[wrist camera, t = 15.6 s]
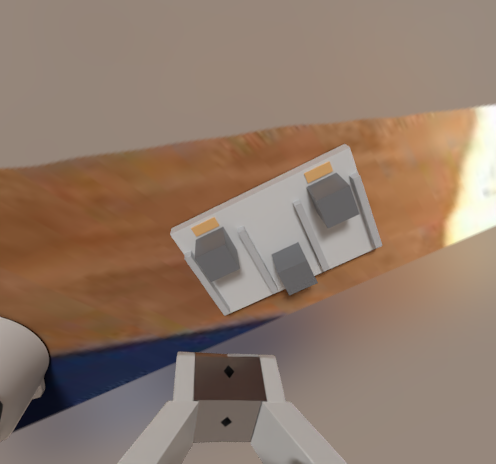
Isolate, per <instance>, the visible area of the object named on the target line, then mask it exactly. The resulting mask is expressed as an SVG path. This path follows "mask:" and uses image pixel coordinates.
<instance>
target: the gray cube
mask: <svg viewBox="0 0 496 464" xmlns="http://www.w3.org/2000/svg"><path fill="white" fill-rule="evenodd" d="M195 260H196V261H197V263H198V264H199V265H200V267H201V268H202V270H203V271H204V273H205V274H206V276H207V277H208V279H209V280H210V282H213V281H215V280H217V279H219V278H221V277H224V276H226V275H228V274H230V273H232V272H234V271H237V270H239V269H240V266H239V259H238V253H237V249H236V247H235V246H234V244H233V242H232V241H231V239H230V237H229V235H228V234H227V232H226V230H225V229H224V227H221V228H219V229H217V230H215V231H213V232H211V233H209V234H207V235H205V236H202V237H200V238H198V239H196V243H195Z"/></svg>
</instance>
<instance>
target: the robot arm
mask: <svg viewBox="0 0 496 464" xmlns="http://www.w3.org/2000/svg"><path fill="white" fill-rule="evenodd" d="M48 365H49V355H48V352H47V349H46V347H45V345H44V344H43V342H42V341H41V340H40V339H39V338H38V337H37V336H36V335H35V334H34V333H33V332H31V331H30V330H29V329H27V328H26V327H24V326H22V325H20V324H18V323H16V322H14V321H11V320H8V319H5V318H2V317H0V442H1V441H3V440H6V439H7V438H8V437H9V436H10V435H11V433H12V432H13V430H14V428H15V427H16V425H17V424H18V422H19V420H20V419H21V417H22V415H23V414H24V412H25V410H26V409H27V407H28V405H29V403H30V402H31V400H32V399H36V398H39V397H40V396H41V395H42V394H43V392H44V390H45V382H44V375H45V373H46V371H47V368H48ZM198 442H199V443H200V442H251V445H252V447H253V448H254V450H255V452H256V453H257V455H258V456H259V458H260V460H261V461H262V463H263V464H347V463H346V462H345V461H344V459H343V458H341V456H340V455H339V454H338V453H337V452H336V451H335V450H334V449H333V448H332V446H331V445H330V444H329V443H328V442H327V441H326V440H325V439H324V438H323V437H322V436H321V435H320V433H319V432H318V431H317V430H316V429H315V428H314V427H313V426H312V425H311V424H310V423H309V421H308V420H307V419H306V418H305V417H304V416H303V415H302V414H301V413H300V412H299V410H298V409H296V407H295V406H294V405H293V404H292V403H291V402H286V400H285V396H284V391H283V387H282V382H281V378H280V374H279V369H278V365H277V361H276V357H275V356H274V355H256V354H214V353H198V352H195V353H194V352H178V354H177V362H176V373H175V382H174V392H173V401H167V402H166V404H165V405H164V406H163V407H162V409H161V410H160V411H159V412H158V414H157V415H156V416H155V418H154V419H153V420H152V421H151V422H150V424H149V425H148V426H147V427H146V429H145V430H144V431H143V432H142V434H141V435H140V436H139V437H138V438H137V440H136V441H135V442H134V443H133V445H132V446H131V447H130V448H129V450H128V451H127V452H126V453H125V455H124V456H123V457H122V458H121V460H120V461H119V462H118V463H117V464H182V462H183V461H184V459H185V457H186V455H187V454H188V452H189V450H190V449H191V447H192V445H193V443H198Z"/></svg>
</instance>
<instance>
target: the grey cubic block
mask: <svg viewBox="0 0 496 464" xmlns="http://www.w3.org/2000/svg"><path fill="white" fill-rule="evenodd" d="M271 255H272V258H273V261H274V264H275V267H276V270H277V273H278V275H279V277H280V279H281V281H282V283H283V285H284V286H285V288H286V290H287V292H288V294H289V295H291V294H294V293H296V292H298V291H300V290H303V289H305V288H307V287H310V286H312V285H314V284H316V283H318V282H317V280H316V278H315V276H314V274H313V272H312V270H311V268H310V265H309V263H308V261H307V259H306V257H305V255H304V253H303V251H302V249H301V246H300V244H299V242H297V243H295V244H293V245H291V246H289V247H287V248H284V249H282V250H280V251H278V252H276V253H274V254H271Z"/></svg>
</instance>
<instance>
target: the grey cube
mask: <svg viewBox="0 0 496 464" xmlns="http://www.w3.org/2000/svg"><path fill="white" fill-rule="evenodd" d="M307 190H308V192H309V194H310V197H311V199H312V202H313V204H314V206H315V209H316V211H317V213H318V215H319V216H320V218H321V219H322V221H323V222H324V224H325V225H326V227H327V228H331V227H333V226H335V225H337V224H339V223H341V222H344V221H346V220H348V219H350V218H352V217H354V216H357V215H359V211H358V208H357V205H356V202H355V199H354V196H353V193H352V190H351V187H350V185H349V184H348V183H347V182H346V181H345V180H344V179H343V178H342V177H341V176H340V175H339V174H337V173H334V174H332V175H330V176H328V177H326V178H324V179H322V180H320V181H318V182H316V183H313V184H311V185H309V186H307Z"/></svg>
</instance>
